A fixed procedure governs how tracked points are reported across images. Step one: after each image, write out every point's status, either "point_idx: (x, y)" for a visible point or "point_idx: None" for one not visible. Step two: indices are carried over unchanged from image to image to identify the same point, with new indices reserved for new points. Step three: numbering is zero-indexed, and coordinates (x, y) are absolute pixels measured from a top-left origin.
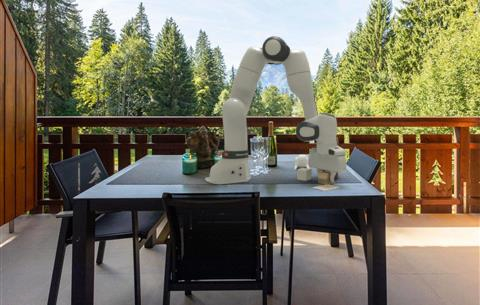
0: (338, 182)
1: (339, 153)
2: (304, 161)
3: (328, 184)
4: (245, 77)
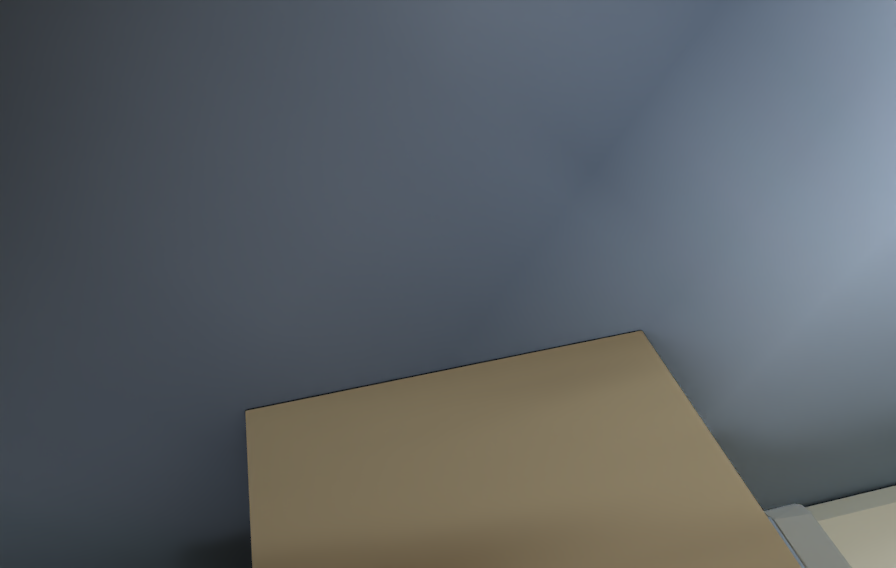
0: (662, 106)
1: None
2: None
3: None
4: None
